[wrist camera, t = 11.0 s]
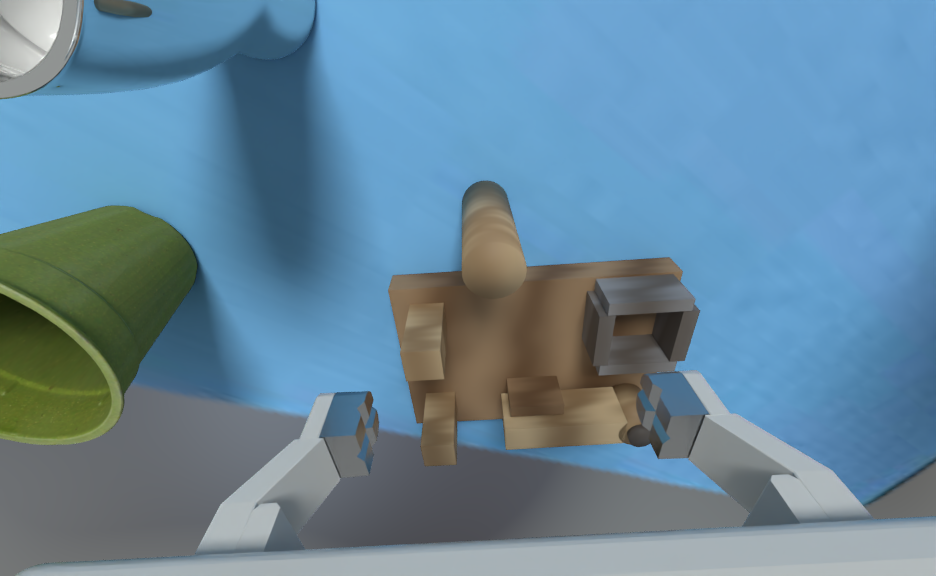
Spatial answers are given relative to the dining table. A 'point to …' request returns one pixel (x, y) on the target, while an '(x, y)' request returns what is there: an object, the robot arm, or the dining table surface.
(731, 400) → the dining table surface
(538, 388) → the wooden assembly base board
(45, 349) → the plant pot
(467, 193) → the oak leg peg
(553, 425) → the hinged leg
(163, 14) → the beer glass
